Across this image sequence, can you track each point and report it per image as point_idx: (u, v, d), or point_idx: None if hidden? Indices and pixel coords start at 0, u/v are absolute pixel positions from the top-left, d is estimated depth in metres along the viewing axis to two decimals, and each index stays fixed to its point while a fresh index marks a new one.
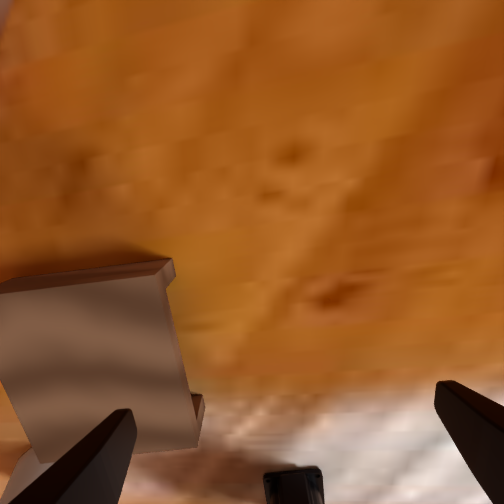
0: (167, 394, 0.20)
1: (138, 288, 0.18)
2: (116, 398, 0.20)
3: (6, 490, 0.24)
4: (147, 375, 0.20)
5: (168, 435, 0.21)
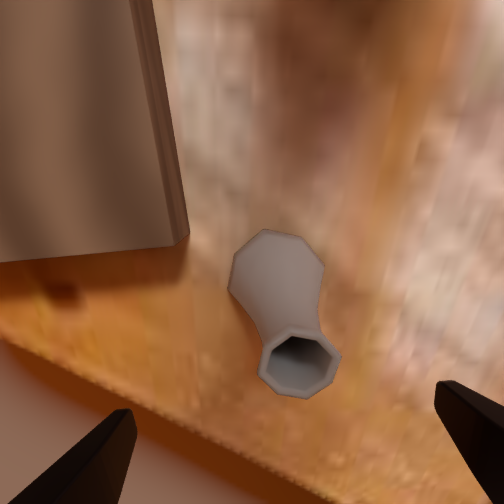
0: None
1: None
2: (23, 91, 0.12)
3: None
4: None
5: None
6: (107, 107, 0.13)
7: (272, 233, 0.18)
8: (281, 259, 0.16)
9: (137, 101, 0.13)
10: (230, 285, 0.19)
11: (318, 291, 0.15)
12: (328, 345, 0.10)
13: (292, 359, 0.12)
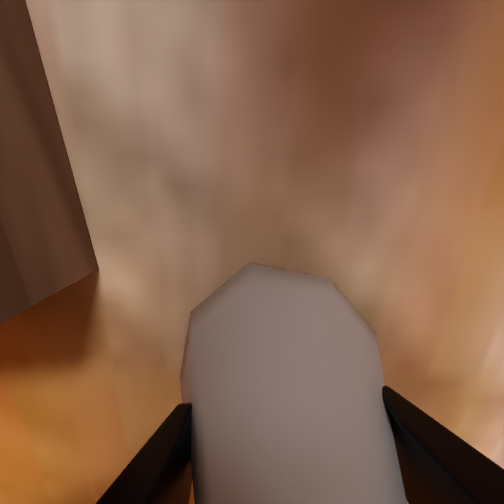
0: None
1: None
2: None
3: None
4: None
5: None
6: None
7: (269, 271, 0.08)
8: (291, 355, 0.06)
9: None
10: (182, 377, 0.09)
11: (394, 454, 0.05)
12: None
13: None
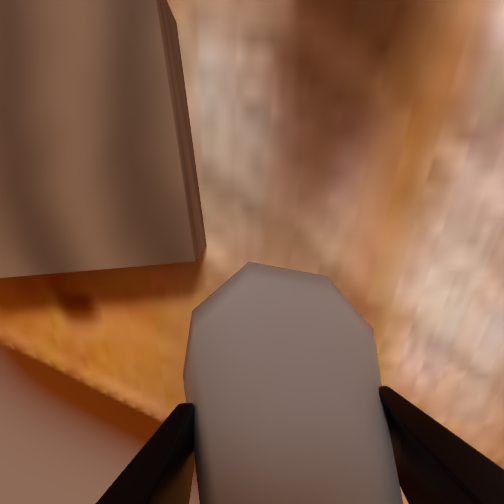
0: (32, 14, 0.12)
1: None
2: (54, 112, 0.13)
3: None
4: None
5: (125, 26, 0.12)
6: (135, 128, 0.13)
7: (267, 270, 0.09)
8: (289, 350, 0.06)
9: (164, 122, 0.13)
10: (185, 374, 0.09)
11: (389, 443, 0.06)
12: None
13: None
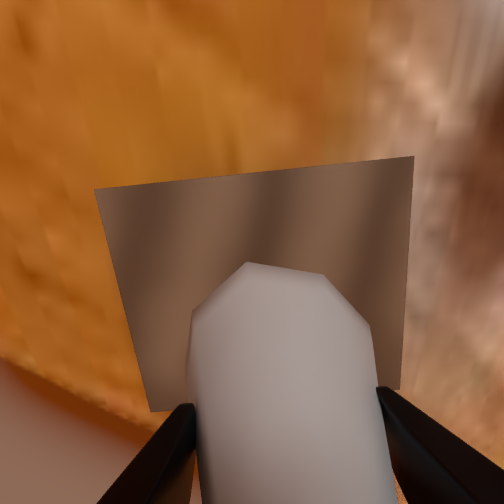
0: (296, 196, 0.13)
1: (117, 215, 0.13)
2: None
3: None
4: (259, 222, 0.13)
5: (379, 203, 0.13)
6: (369, 283, 0.14)
7: (264, 269, 0.09)
8: (286, 346, 0.06)
9: (397, 279, 0.14)
10: (186, 373, 0.10)
11: (383, 434, 0.06)
12: None
13: None
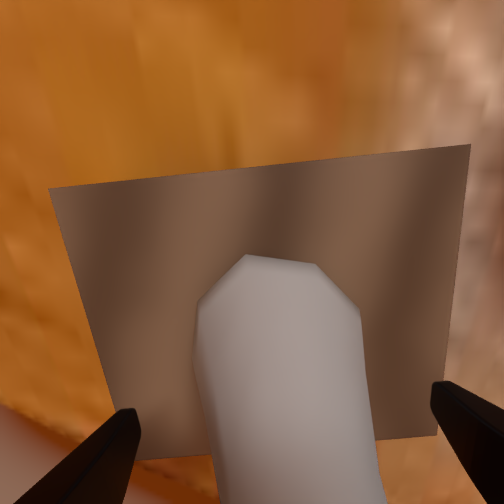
0: (313, 197, 0.10)
1: (79, 222, 0.10)
2: None
3: None
4: (265, 231, 0.10)
5: (421, 207, 0.10)
6: (404, 309, 0.11)
7: (262, 261, 0.10)
8: (281, 324, 0.07)
9: (441, 303, 0.11)
10: (194, 357, 0.10)
11: (366, 396, 0.07)
12: None
13: None
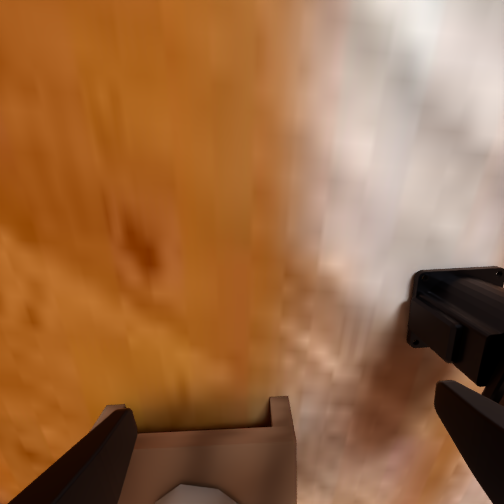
0: (217, 459, 0.18)
1: None
2: None
3: None
4: (192, 471, 0.19)
5: (274, 464, 0.19)
6: None
7: (188, 489, 0.19)
8: None
9: (290, 503, 0.20)
10: None
11: None
12: None
13: None
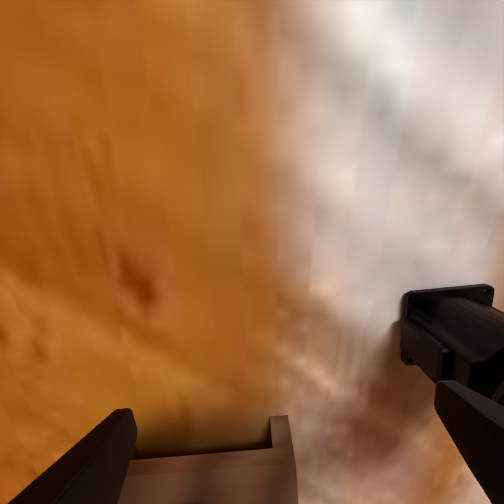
0: (219, 482, 0.19)
1: None
2: None
3: None
4: (196, 494, 0.19)
5: (275, 485, 0.19)
6: None
7: None
8: None
9: None
10: None
11: None
12: None
13: None
